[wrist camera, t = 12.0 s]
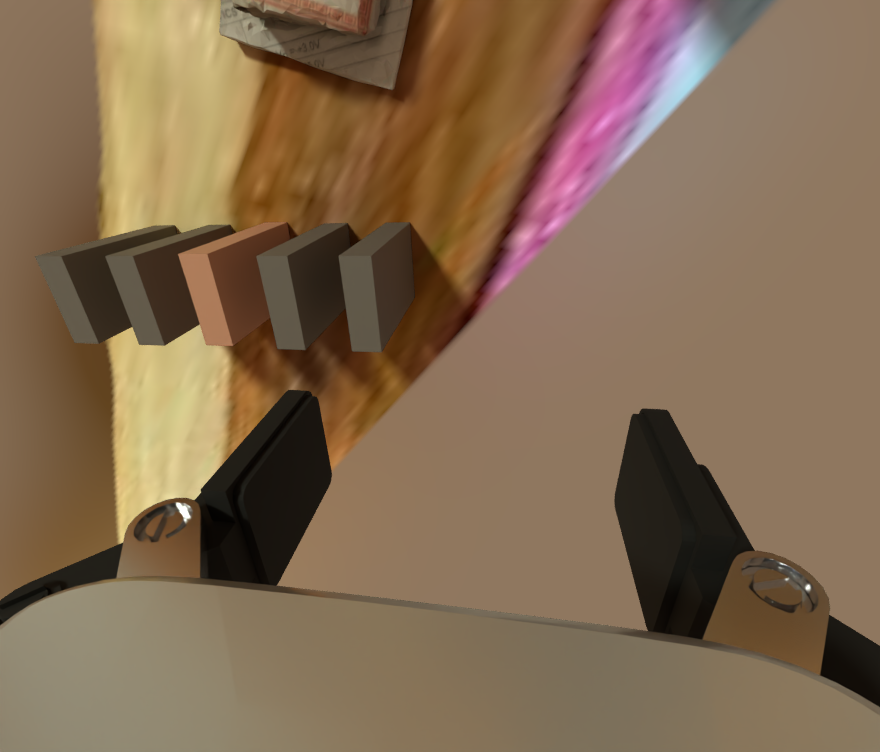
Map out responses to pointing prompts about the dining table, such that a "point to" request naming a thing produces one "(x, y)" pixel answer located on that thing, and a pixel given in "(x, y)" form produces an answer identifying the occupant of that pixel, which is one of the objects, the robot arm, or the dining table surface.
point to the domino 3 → (231, 282)
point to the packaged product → (325, 33)
